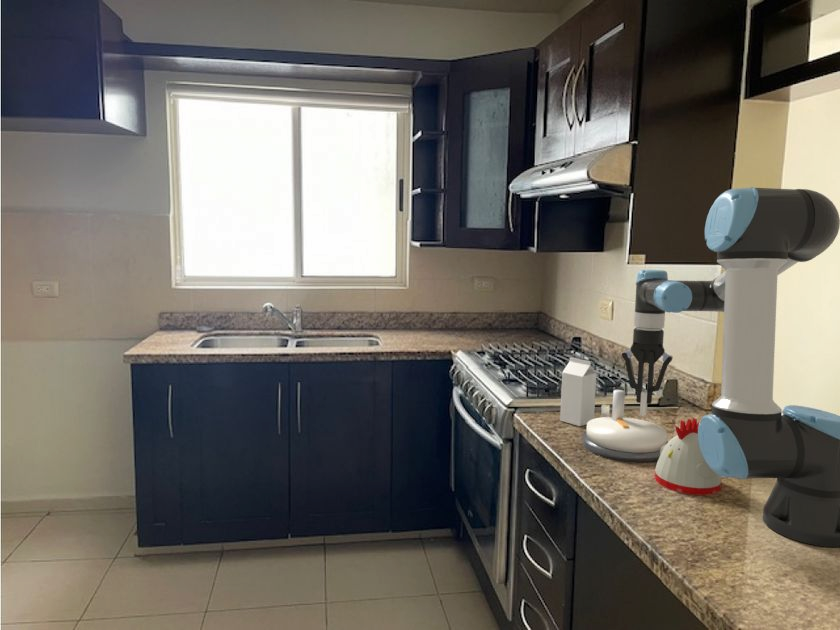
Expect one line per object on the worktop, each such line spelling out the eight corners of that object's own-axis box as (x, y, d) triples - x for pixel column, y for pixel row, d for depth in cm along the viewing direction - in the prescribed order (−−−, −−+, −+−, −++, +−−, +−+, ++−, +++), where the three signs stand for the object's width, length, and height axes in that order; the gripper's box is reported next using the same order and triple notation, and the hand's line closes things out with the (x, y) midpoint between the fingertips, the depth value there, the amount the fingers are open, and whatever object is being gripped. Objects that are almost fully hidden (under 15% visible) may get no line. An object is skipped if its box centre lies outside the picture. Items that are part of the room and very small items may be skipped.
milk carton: (580, 427, 178) (583, 363, 176) (559, 421, 183) (562, 358, 181) (593, 422, 183) (597, 359, 180) (573, 416, 188) (576, 355, 186)
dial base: (665, 469, 147) (668, 440, 146) (573, 453, 157) (575, 426, 156) (673, 438, 170) (675, 413, 169) (592, 426, 179) (593, 402, 178)
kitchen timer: (641, 474, 144) (646, 412, 142) (688, 467, 149) (692, 407, 147) (685, 499, 131) (691, 431, 129) (735, 490, 136) (741, 425, 134)
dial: (678, 453, 152) (682, 410, 150) (597, 451, 152) (600, 408, 150) (650, 427, 171) (652, 389, 170) (578, 426, 172) (580, 388, 170)
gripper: (676, 328, 163) (670, 414, 166) (624, 324, 168) (619, 408, 171) (674, 332, 156) (668, 422, 159) (621, 328, 162) (616, 414, 165)
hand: (643, 414), depth 165 cm, fingers closed
